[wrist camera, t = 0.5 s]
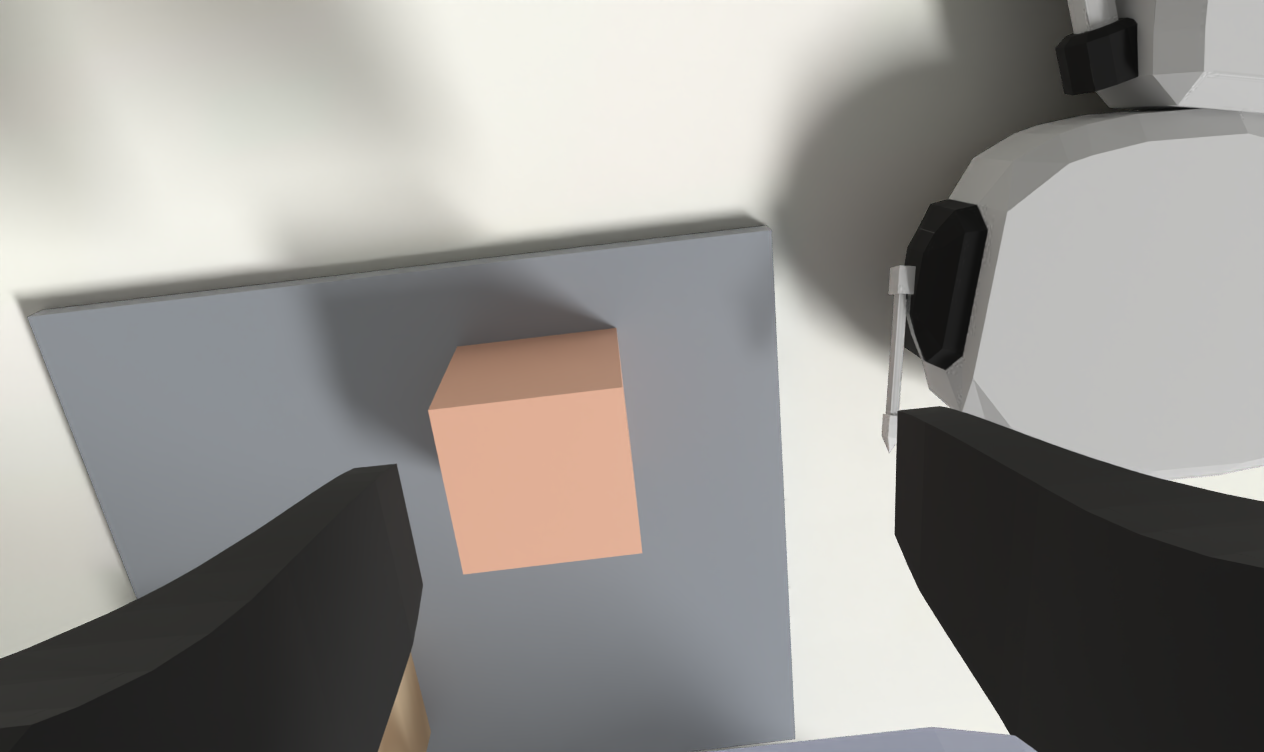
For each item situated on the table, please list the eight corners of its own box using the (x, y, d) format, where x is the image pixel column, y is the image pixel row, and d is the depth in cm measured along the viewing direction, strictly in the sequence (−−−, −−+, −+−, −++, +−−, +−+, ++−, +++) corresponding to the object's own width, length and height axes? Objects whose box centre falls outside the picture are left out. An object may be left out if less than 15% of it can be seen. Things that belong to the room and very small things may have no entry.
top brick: (431, 731, 25) (403, 850, 21) (299, 747, 25) (247, 869, 21) (403, 623, 24) (368, 730, 20) (263, 640, 24) (202, 749, 20)
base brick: (633, 469, 22) (642, 552, 18) (484, 487, 22) (463, 574, 18) (616, 327, 21) (622, 387, 17) (457, 346, 21) (427, 409, 17)
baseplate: (790, 724, 26) (795, 739, 26) (226, 792, 26) (218, 809, 26) (766, 225, 21) (771, 230, 20) (42, 309, 20) (27, 317, 20)
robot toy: (932, -229, 18) (831, 414, 22) (1040, -340, 14) (889, 484, 18) (1448, -169, 19) (1256, 440, 23) (1701, -254, 15) (1409, 511, 19)
